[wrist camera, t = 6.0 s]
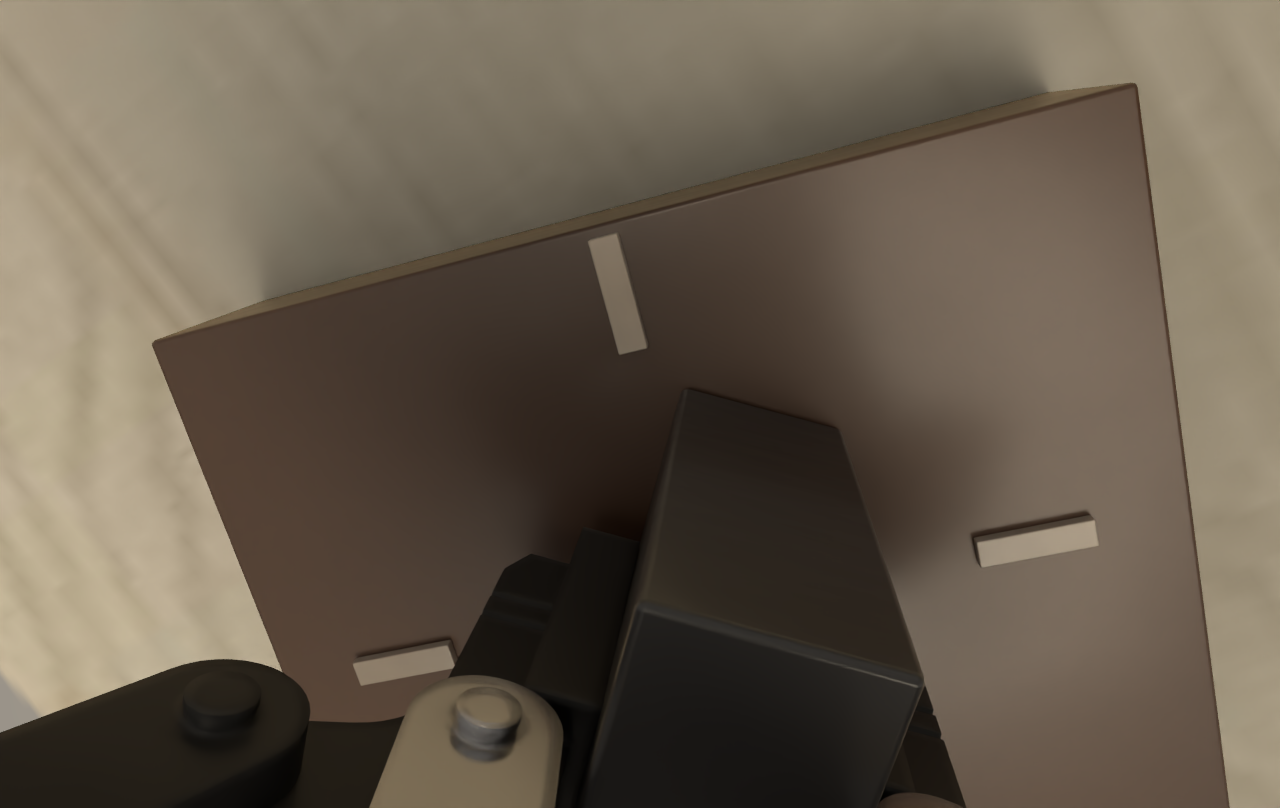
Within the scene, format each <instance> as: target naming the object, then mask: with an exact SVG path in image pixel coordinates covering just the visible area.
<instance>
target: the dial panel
mask: <svg viewBox="0 0 1280 808" xmlns="http://www.w3.org/2000/svg"><path fill="white" fill-rule="evenodd" d="M152 346H153V349H154V351H155V354H156V356H157V359H158V361H159V364H160V366H161V369H162V371H163V374H164V376H165V379H166V381H167V384H168V386H169V389H170V391H171V394H172V396H173V399H174V401H175V404H176V406H177V409H178V411H179V414H180V416H181V419H182V421H183V424H184V426H185V429H186V431H187V434H188V436H189V439H190V441H191V444H192V446H193V449H194V451H195V454H196V456H197V459H198V461H199V464H200V466H201V469H202V471H203V474H204V476H205V479H206V481H207V484H208V486H209V489H210V491H211V494H212V496H213V499H214V501H215V504H216V506H217V509H218V511H219V514H220V516H221V519H222V521H223V524H224V526H225V529H226V531H227V534H228V536H229V539H230V541H231V544H232V546H233V549H234V551H235V554H236V556H237V559H238V561H239V564H240V566H241V569H242V571H243V574H244V576H245V579H246V581H247V584H248V586H249V589H250V591H251V594H252V596H253V599H254V601H255V604H256V606H257V609H258V611H259V614H260V616H261V619H262V621H263V624H264V626H265V629H266V631H267V634H268V636H269V639H270V641H271V644H272V646H273V649H274V651H275V654H276V656H277V659H278V661H279V664H280V666H281V669H282V671H283V673H284V674H286V675H287V676H289V677H290V678H292V679H293V680H294V681H295V682H297V683H298V684H299V685H300V686H301V688H302V689H303V690H304V692H305V693H306V695H307V698H308V700H309V703H310V718H309V721H328V722H377V721H385V720H389V719H394V718H398V717H401V716H404V715H405V714H406V711H407V708H408V706H409V704H410V702H411V701H412V699H413V698H414V697H415V696H416V695H417V693H418V692H420V691H421V690H422V689H424V688H425V687H426V686H428V685H430V684H432V683H434V682H436V681H439V680H443V679H446V678H448V677H449V675H450V673H451V671H452V669H453V667H454V665H455V664H456V662H457V660H458V658H459V656H460V654H461V652H462V650H463V648H464V646H465V644H466V642H467V640H468V638H469V636H470V634H471V632H472V630H473V629H474V627H475V625H476V623H477V621H478V619H479V617H480V615H482V612H483V609H484V607H485V605H486V603H487V601H488V599H489V597H490V596H492V592H493V590H494V588H495V586H496V584H497V582H498V580H499V578H500V576H501V574H502V572H503V570H504V568H506V567H508V566H510V565H511V564H513V563H515V562H517V561H519V560H520V559H522V558H524V557H526V556H528V555H529V554H535V555H538V556H542V557H546V558H550V559H553V560H557V561H561V562H565V563H568V564H570V561H571V558H572V556H573V553H574V550H575V548H576V545H577V542H578V539H579V537H580V534H581V531H582V529H583V527H586V528H590V529H594V530H597V531H601V532H605V533H609V534H612V535H616V536H620V537H624V538H627V539H631V540H635V541H639V542H640V540H641V536H642V533H643V529H644V525H645V522H646V518H647V514H648V510H649V507H650V503H651V499H652V496H653V492H654V488H655V485H656V481H657V477H658V474H659V470H660V466H661V463H662V459H663V455H664V452H665V448H666V444H667V441H668V437H669V433H670V430H671V426H672V422H673V419H674V415H675V411H676V408H677V404H678V400H679V397H680V393H681V392H682V391H683V390H686V389H690V390H694V391H698V392H701V393H705V394H709V395H713V396H716V397H720V398H724V399H728V400H731V401H735V402H739V403H742V404H746V405H750V406H754V407H757V408H761V409H765V410H769V411H772V412H776V413H780V414H784V415H787V416H791V417H795V418H799V419H802V420H806V421H810V422H814V423H817V424H821V425H825V426H829V427H832V428H836V429H838V430H839V431H841V432H842V435H843V438H844V441H845V444H846V447H847V450H848V453H849V456H850V459H851V462H852V465H853V468H854V471H855V474H856V477H857V480H858V483H859V485H860V488H861V491H862V494H863V497H864V500H865V503H866V506H867V509H868V512H869V515H870V518H871V521H872V524H873V527H874V530H875V533H876V536H877V539H878V542H879V545H880V548H881V551H882V554H883V557H884V560H885V562H886V565H887V568H888V571H889V574H890V577H891V580H892V583H893V586H894V589H895V592H896V595H897V598H898V601H899V604H900V607H901V610H902V613H903V616H904V619H905V622H906V625H907V628H908V631H909V634H910V637H911V639H912V642H913V645H914V648H915V651H916V654H917V657H918V660H919V663H920V666H921V669H922V672H923V675H924V682H925V685H926V688H927V691H928V694H929V697H930V700H931V703H932V706H933V709H934V711H933V715H935V716H936V718H937V721H938V724H939V727H940V730H941V733H942V734H941V739H942V740H944V742H945V745H946V748H947V751H948V754H949V757H950V760H951V763H952V766H953V769H954V772H955V775H956V778H957V781H958V784H959V787H960V790H961V793H962V796H963V799H964V802H965V805H966V808H1230V807H1229V799H1228V791H1227V783H1226V775H1225V767H1224V760H1223V752H1222V744H1221V736H1220V728H1219V720H1218V713H1217V705H1216V697H1215V689H1214V681H1213V674H1212V666H1211V658H1210V650H1209V642H1208V634H1207V627H1206V619H1205V611H1204V603H1203V595H1202V587H1201V580H1200V572H1199V564H1198V556H1197V548H1196V541H1195V533H1194V525H1193V517H1192V509H1191V501H1190V494H1189V486H1188V478H1187V470H1186V462H1185V454H1184V447H1183V439H1182V431H1181V423H1180V415H1179V408H1178V400H1177V392H1176V384H1175V376H1174V368H1173V361H1172V353H1171V345H1170V337H1169V329H1168V322H1167V314H1166V306H1165V298H1164V290H1163V282H1162V275H1161V267H1160V259H1159V251H1158V243H1157V235H1156V228H1155V220H1154V212H1153V204H1152V196H1151V189H1150V181H1149V173H1148V165H1147V157H1146V149H1145V142H1144V134H1143V126H1142V118H1141V110H1140V102H1139V95H1138V87H1137V85H1136V84H1135V83H1126V84H1117V85H1108V86H1099V87H1091V88H1082V89H1073V90H1064V91H1055V92H1047V93H1044V94H1040V95H1036V96H1032V97H1029V98H1025V99H1021V100H1017V101H1014V102H1010V103H1006V104H1002V105H999V106H995V107H991V108H987V109H983V110H980V111H976V112H972V113H968V114H965V115H961V116H957V117H953V118H950V119H946V120H942V121H938V122H935V123H931V124H927V125H923V126H920V127H916V128H912V129H908V130H904V131H901V132H897V133H893V134H889V135H886V136H882V137H878V138H874V139H871V140H867V141H863V142H859V143H856V144H852V145H848V146H844V147H841V148H837V149H833V150H829V151H825V152H822V153H818V154H814V155H810V156H807V157H803V158H799V159H795V160H792V161H788V162H784V163H780V164H777V165H773V166H769V167H765V168H761V169H758V170H754V171H750V172H746V173H743V174H739V175H735V176H731V177H728V178H724V179H720V180H716V181H713V182H709V183H705V184H701V185H698V186H694V187H690V188H686V189H682V190H679V191H675V192H671V193H667V194H664V195H660V196H656V197H652V198H649V199H645V200H641V201H637V202H634V203H630V204H626V205H622V206H619V207H615V208H611V209H607V210H603V211H600V212H596V213H592V214H588V215H585V216H581V217H577V218H573V219H570V220H566V221H562V222H558V223H555V224H551V225H547V226H543V227H540V228H536V229H532V230H528V231H524V232H521V233H517V234H513V235H509V236H506V237H502V238H498V239H494V240H491V241H487V242H483V243H479V244H476V245H472V246H468V247H464V248H461V249H457V250H453V251H449V252H445V253H442V254H438V255H434V256H430V257H427V258H423V259H419V260H415V261H412V262H408V263H404V264H400V265H397V266H393V267H389V268H385V269H382V270H378V271H374V272H370V273H366V274H363V275H359V276H355V277H351V278H348V279H344V280H340V281H336V282H333V283H329V284H325V285H321V286H318V287H314V288H310V289H306V290H302V291H299V292H295V293H291V294H287V295H284V296H280V297H276V298H272V299H269V300H265V301H262V302H259V303H256V304H253V305H251V306H248V307H245V308H242V309H240V310H237V311H234V312H231V313H229V314H226V315H223V316H220V317H218V318H215V319H212V320H209V321H207V322H204V323H201V324H198V325H196V326H193V327H190V328H187V329H185V330H182V331H179V332H177V333H174V334H171V335H168V336H166V337H163V338H160V339H157V340H155V341H154V342H153V343H152ZM639 544H640V543H639Z"/></svg>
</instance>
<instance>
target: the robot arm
mask: <svg viewBox="0 0 1280 808" xmlns="http://www.w3.org/2000/svg"><path fill="white" fill-rule="evenodd" d="M639 543H640V542H639V541H635V540H631V539H627V538H624V537H620V536H616V535H612V534H609V533H605V532H601V531H597V530H594V529H590V528H586V527H583V529H582V531H581V534H580V537H579V539H578V542H577V545H576V548H575V550H574V553H573V556H572V558H571V561H570V564H568V563H565V562H561V561H557V560H553V559H550V558H546V557H542V556H538V555H535V554H529V555H528V556H526V557H524V558H522V559H520V560H519V561H517V562H515V563H513V564H511V565H510V566H508V567H506V568H504V570H503V572H502V574H501V576H500V578H499V580H498V582H497V584H496V586H495V588H494V590H493V592H492V596H490V597H489V599H488V601H487V603H486V605H485V607H484V609H483V612H482V615H480V617H479V619H478V621H477V623H476V625H475V627H474V629H473V630H472V632H471V634H470V636H469V638H468V640H467V642H466V644H465V646H464V648H463V650H462V652H461V654H460V656H459V658H458V660H457V662H456V664H455V665H454V667H453V669H452V671H451V673H450V675H449V677H448V678H446V679H443V680H439V681H436V682H434V683H432V684H430V685H428V686H426V687H425V688H424V689H422V690H421V691H420V692H418V693H417V695H416V696H415V697H414V698H413V699H412V701H411V702H410V704H409V706H408V708H407V711H406V714H405V715H404V716H401V717H398V718H394V719H389V720H385V721H377V722H328V721H309V718H310V703H309V700H308V698H307V695H306V693H305V692H304V690H303V689H302V688H301V686H300V685H299V684H298V683H297V682H295V681H294V680H293V679H292V678H290V677H289V676H287V675H286V674H284V673H283V672H281V671H278V670H276V669H274V668H272V667H269V666H265V665H262V664H259V663H254V662H249V661H243V660H232V659H217V660H206V661H198V662H193V663H188V664H184V665H181V666H178V667H175V668H171V669H169V670H166V671H163V672H161V673H158V674H155V675H153V676H150V677H147V678H145V679H142V680H139V681H137V682H134V683H131V684H129V685H126V686H123V687H121V688H118V689H115V690H113V691H110V692H107V693H105V694H102V695H99V696H97V697H94V698H91V699H89V700H86V701H83V702H81V703H78V704H75V705H73V706H70V707H68V708H65V709H62V710H60V711H57V712H54V713H52V714H49V715H46V716H44V717H41V718H38V719H36V720H33V721H30V722H28V723H25V724H22V725H20V726H17V727H14V728H12V729H9V730H6V731H4V732H1V733H0V808H574V807H575V804H576V800H577V797H578V793H579V789H580V786H581V782H582V778H583V775H584V771H585V767H586V764H587V760H588V756H589V753H590V749H591V746H592V742H593V738H594V735H595V731H596V727H597V724H598V720H599V716H600V713H601V709H602V705H603V701H604V697H605V692H606V688H607V684H608V680H609V675H610V671H611V667H612V663H613V658H614V654H615V650H616V645H617V641H618V636H619V632H620V628H621V623H622V619H623V614H624V610H625V605H626V601H627V597H628V592H629V588H630V583H631V579H632V574H633V570H634V566H635V561H636V557H637V552H638V548H639ZM933 711H934V709H933V706H932V703H931V700H930V697H929V694H928V691H927V688H926V685H925V686H924V688H923V691H922V693H921V696H920V699H919V701H918V704H917V706H916V709H915V711H914V714H913V717H912V719H911V722H910V724H909V727H908V729H907V732H906V735H905V737H904V740H903V742H902V745H901V747H900V750H899V753H898V755H897V758H896V760H895V763H894V765H893V768H892V770H891V773H890V776H889V778H888V781H887V783H886V786H885V788H884V791H883V794H882V796H881V799H880V801H879V804H878V806H877V808H966V805H965V802H964V799H963V796H962V793H961V790H960V787H959V784H958V781H957V778H956V775H955V772H954V769H953V766H952V763H951V760H950V757H949V754H948V751H947V748H946V745H945V742H944V740H942V739H941V734H942V733H941V730H940V727H939V724H938V721H937V718H936V716H935V715H933Z"/></svg>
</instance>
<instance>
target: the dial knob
mask: <svg viewBox="0 0 1280 808" xmlns="http://www.w3.org/2000/svg"><path fill="white" fill-rule="evenodd" d="M924 686H925V682H924V675H923V672H922V669H921V666H920V663H919V660H918V657H917V654H916V651H915V648H914V645H913V642H912V639H911V637H910V634H909V631H908V628H907V625H906V622H905V619H904V616H903V613H902V610H901V607H900V604H899V601H898V598H897V595H896V592H895V589H894V586H893V583H892V580H891V577H890V574H889V571H888V568H887V565H886V562H885V560H884V557H883V554H882V551H881V548H880V545H879V542H878V539H877V536H876V533H875V530H874V527H873V524H872V521H871V518H870V515H869V512H868V509H867V506H866V503H865V500H864V497H863V494H862V491H861V488H860V485H859V483H858V480H857V477H856V474H855V471H854V468H853V465H852V462H851V459H850V456H849V453H848V450H847V447H846V444H845V441H844V438H843V435H842V432H841V431H839V430H838V429H836V428H832V427H829V426H825V425H821V424H817V423H814V422H810V421H806V420H802V419H799V418H795V417H791V416H787V415H784V414H780V413H776V412H772V411H769V410H765V409H761V408H757V407H754V406H750V405H746V404H742V403H739V402H735V401H731V400H728V399H724V398H720V397H716V396H713V395H709V394H705V393H701V392H698V391H694V390H690V389H686V390H683V391H682V392H681V393H680V397H679V400H678V404H677V408H676V411H675V415H674V419H673V422H672V426H671V430H670V433H669V437H668V441H667V444H666V448H665V452H664V455H663V459H662V463H661V466H660V470H659V474H658V477H657V481H656V485H655V488H654V492H653V496H652V499H651V503H650V507H649V510H648V514H647V518H646V522H645V525H644V529H643V533H642V536H641V540H640V544H639V548H638V552H637V557H636V561H635V566H634V570H633V574H632V579H631V583H630V588H629V592H628V597H627V601H626V605H625V610H624V614H623V619H622V623H621V628H620V632H619V636H618V641H617V645H616V650H615V654H614V658H613V663H612V667H611V671H610V675H609V680H608V684H607V688H606V692H605V697H604V701H603V705H602V709H601V713H600V716H599V720H598V724H597V727H596V731H595V735H594V738H593V742H592V746H591V749H590V753H589V756H588V760H587V764H586V767H585V771H584V775H583V778H582V782H581V786H580V789H579V793H578V797H577V800H576V804H575V807H574V808H877V806H878V804H879V801H880V799H881V796H882V794H883V791H884V788H885V786H886V783H887V781H888V778H889V776H890V773H891V770H892V768H893V765H894V763H895V760H896V758H897V755H898V753H899V750H900V747H901V745H902V742H903V740H904V737H905V735H906V732H907V729H908V727H909V724H910V722H911V719H912V717H913V714H914V711H915V709H916V706H917V704H918V701H919V699H920V696H921V693H922V691H923V688H924Z"/></svg>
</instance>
